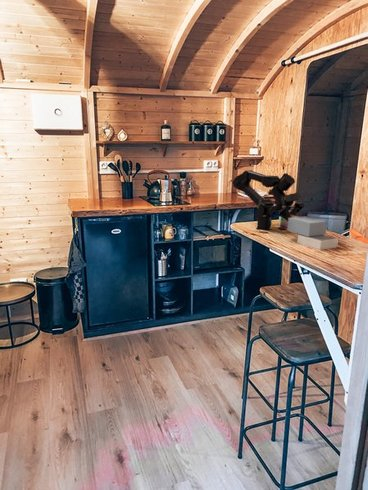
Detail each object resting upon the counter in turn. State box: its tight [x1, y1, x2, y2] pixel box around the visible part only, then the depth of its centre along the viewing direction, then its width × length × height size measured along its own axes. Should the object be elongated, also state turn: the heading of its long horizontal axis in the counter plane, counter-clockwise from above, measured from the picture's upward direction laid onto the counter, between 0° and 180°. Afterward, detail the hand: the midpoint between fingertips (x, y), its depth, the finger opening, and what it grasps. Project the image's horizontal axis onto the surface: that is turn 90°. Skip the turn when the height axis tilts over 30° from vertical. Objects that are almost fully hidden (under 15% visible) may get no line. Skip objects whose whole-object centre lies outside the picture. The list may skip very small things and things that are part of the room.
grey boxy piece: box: [286, 215, 328, 237], centre depth 179 cm, size 18×11×6 cm, turn 30°
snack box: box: [278, 203, 294, 230], centre depth 212 cm, size 21×6×15 cm, turn 168°
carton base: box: [296, 234, 339, 251], centre depth 173 cm, size 13×11×4 cm
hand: (294, 223), depth 184 cm, fingers closed on grey boxy piece, 2 cm apart
